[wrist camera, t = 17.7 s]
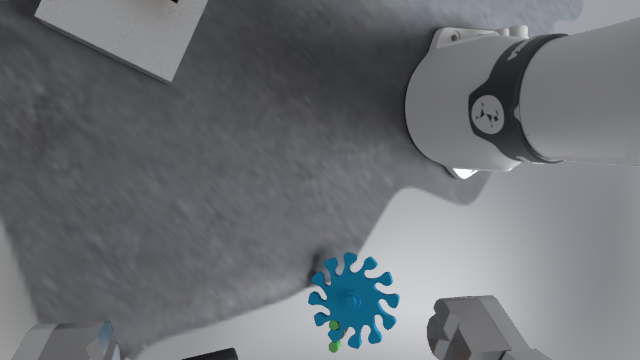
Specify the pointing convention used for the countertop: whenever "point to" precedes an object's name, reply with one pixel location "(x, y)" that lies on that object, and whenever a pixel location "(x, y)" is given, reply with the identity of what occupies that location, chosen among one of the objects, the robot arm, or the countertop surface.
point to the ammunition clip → (217, 355)
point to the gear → (352, 301)
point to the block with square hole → (128, 29)
